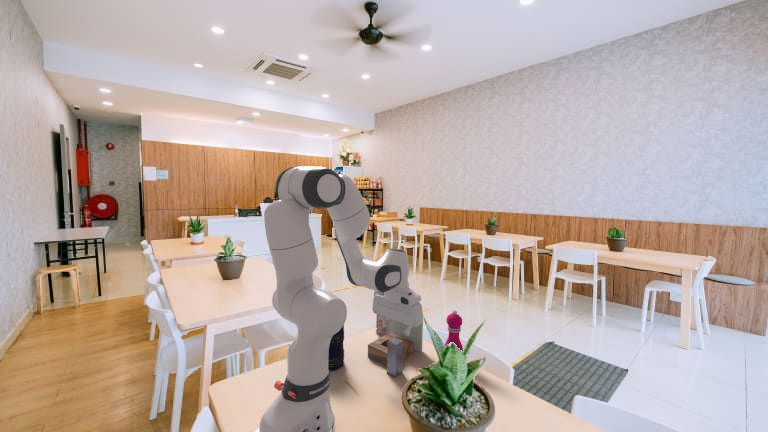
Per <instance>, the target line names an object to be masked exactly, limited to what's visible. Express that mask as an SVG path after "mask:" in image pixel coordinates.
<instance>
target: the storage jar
mask: <svg viewBox="0 0 768 432" xmlns="http://www.w3.org/2000/svg"><path fill="white" fill-rule="evenodd" d="M344 340H345V324H344V325H343V327H342V328H341V329H340V330H339V331H338V332H337V333H336V334H334V335H333V336H332V338H331V341H330V345H329V356H328V369H329V371H330V372H335V371H338V370H340V369H342V368H343V367H344V364H345V362H344V361H345V349H344Z"/></svg>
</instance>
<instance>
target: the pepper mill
mask: <svg viewBox="0 0 768 432" xmlns="http://www.w3.org/2000/svg"><path fill="white" fill-rule="evenodd" d="M446 324H447V331H448V337H447V339H446V341H445V343H444V346H446V345H447V344H449V343H450V342H454V343H455V344H456V345H457V347H458V348H460V350H462V351H463V352H464V348H463V344H462V342H461V339H460V332H461V329H462V324H463V318H462V316H461V315H460V314H458V311H457V310H455V309H454V310H452V311H451V313H450V314H448V315H447V317H446Z"/></svg>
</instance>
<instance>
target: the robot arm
mask: <svg viewBox="0 0 768 432" xmlns="http://www.w3.org/2000/svg"><path fill="white" fill-rule="evenodd" d="M274 187H275V190H274V195H273V198H274V201H272V202H271V203H270V204H269V205H267V206H266V207H265V210H264V211H263V212H264V213H263V216H264V228H265V229H264V230H265V235H266V239H267V245H268V248H269V252H270V256H271V259H272V263H273V266H274V267H273V268H274V271H275V276H276V289H275V290H274V292H273V295H272V299H271V303H272V307H273V308H274V310H275V312H276V313H277V314H278V315H279V316H281V318H283V320H286V321H288V322H290V323H292V324H294V325H295V326H296V328H297V336H296V340H294V341H293V342H291V343H290V345H289V347H288V348H287V353H286V354H287V374H286V377H285V379H284V381H283V382H284V383H283V382H282V381H281V380H276V381H275V382H274V384H273V387H274V388H275V389H276V390H277V391H279V392H280V391H281V392H280V393H279V395H278V396H277V397H276V398H275V399H274V401H273V402H272V403H271V404H270V405H269V407H267V409H266V410H265V411H264V413H263V414H262V415H261V418H260V422H259V427H258V428H257V429H256V430H255V431H254V432H333V425H334V423H335V416H334V413H333V409H332V404H331V398H330V385H331V376H330V375H331V374H330V372H331V371H329V369H328V356H329V345H330V341H331V338H332V336H333V335H334V334H336V333H337V332H338V331H339V330H340V329H341V328H342V327H343V325H344V326H345V323H346V320H347V316H348V315H347V314H348V309H347V305H346V303H345V302H344V300H342V299H341V298H340V297H339V296H337V295H335V294H334V293H333V292H331V291H327V290H325V289H322V288H319V287H318V286H316V285H315V284H314V280H313V273H314V271H316V269H317V268H318V266H319V259H318V254H317V249H316V247H315V242H314V238H313V234H312V230H311V226H310V224H309V223H310V213H311V209H316V210H317V209H318V210H325V209H326V210H327V213H328V214H329V217H330V219H331V221H332V223H333V225H334V235H335V238H336V242H337V245H338V248H339V250H340V253H341V255H342V257H343V260H344V263H345V268H346V269H345V270H346V276H347V279H348V282H350V283H351V285H353V286H357V287H362V288H366V289H369V290H372V291H374V292H373V299H372V311H373V314H375V315H377V314H378V315H380V317H381V320H382V322H383V327H384V328H388V327H389V322H387V319H386V317H387V318H390V319H393V320H396V321H399V322H402V323H405V324H406V326H407V327H408V328H407V329H406V330H404V335H406V336H409V335H410V330H411V328H412V327H413V326H414V327H417V326H419V325H420V324H421V323H422V321H423V322H424V314H423V305H422V304H421V303H420V302H421V301H422V295H420V294H419V293H417V292H416V291H415V290H413V289H412V288H410V283H409V281H408V279H409V274H410V262H409V256H408V252H407V251H406V250H403V249H399V248H398V249H397V248H394V247H393V248H387V249H385V252H384V254H383V256H382V257H381V258H380V259H378V260H374V259H370V258H367V257H365V256H364V255H363V254H362V253H361V249H360V246H359V244H358V240H357V239H358V238H359V237H360V236H362V235H363V234H364V233H365V232H367V230H368V229H369V227H370V224H371V215H370V211H369V208H368V206H367V203H366V202H365V200H364V199H365V198H364V197H363V196H362V192H360V190H359V189H358V186H357V185H356V184H355V182H354V181H353V179H352V178H351V177H350V176H348V175H346V174H342V173H341V174H338V173H337V172H336V171H334V170H333V169H331V168H329V167H325V166H311V165H301V166H292V167H289V168H287V169H284V170H282V172H280V174H278V175H277V178H276V181H275V186H274Z"/></svg>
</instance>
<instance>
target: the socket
mask: <svg viewBox="0 0 768 432" xmlns="http://www.w3.org/2000/svg"><path fill="white" fill-rule="evenodd" d="M393 338H397V339H399V340H402V341H403V361H404V360H405V359H406V358H408V357H409V356H411V355H412V354H414V349H413V341H411V340H408V339H405V338H403V337H400V336H397V335H395V334H392V333H388V334H384V335H382V336H381V337H379V338H378V339H376V340H374V341H372V342H370V343H368V344H367V358H369V359H371V360H374V361H376V362H378V363H380V364H383V365H384V366H387V341H389V340H391V339H393Z"/></svg>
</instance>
